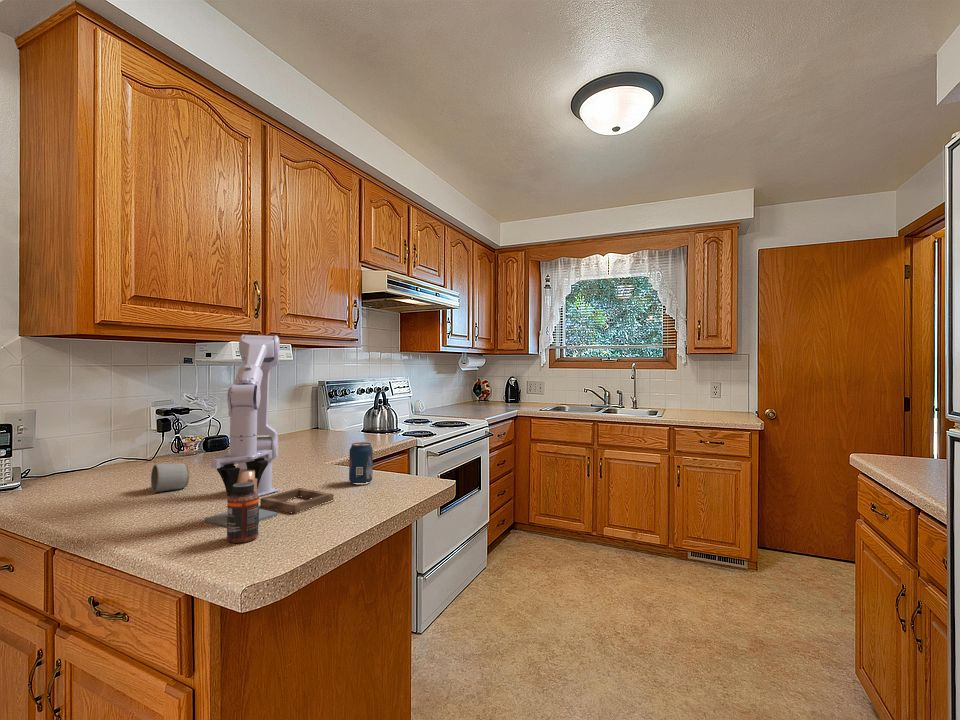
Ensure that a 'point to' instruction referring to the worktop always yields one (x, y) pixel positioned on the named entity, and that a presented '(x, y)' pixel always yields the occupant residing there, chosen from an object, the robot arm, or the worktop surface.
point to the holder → (280, 503)
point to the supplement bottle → (242, 513)
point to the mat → (222, 517)
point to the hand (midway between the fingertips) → (242, 493)
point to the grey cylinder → (169, 477)
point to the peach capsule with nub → (247, 477)
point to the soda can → (360, 462)
